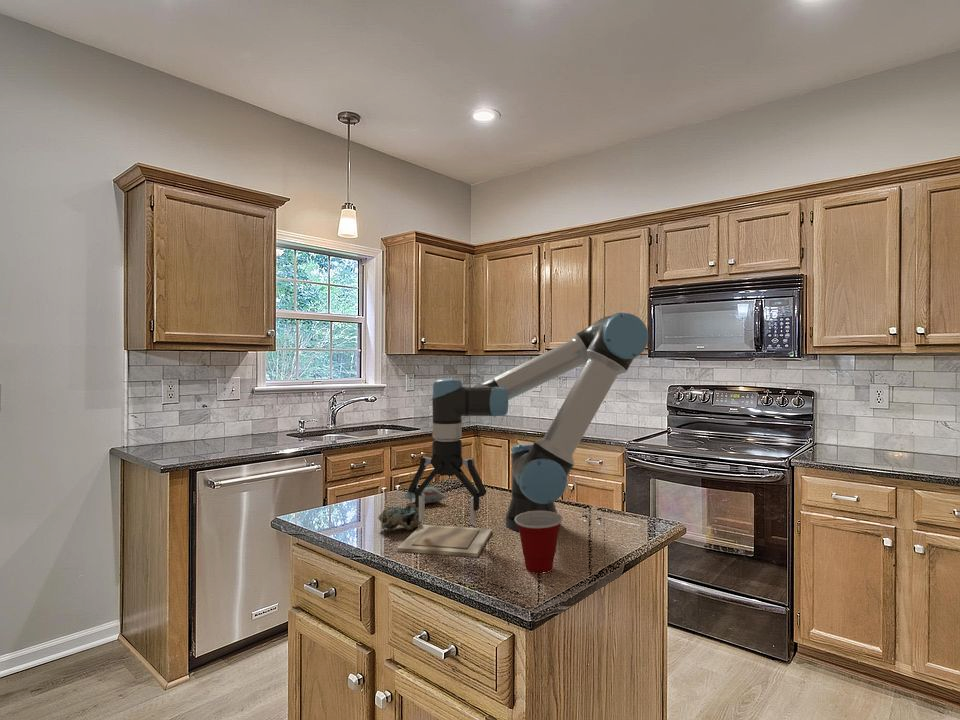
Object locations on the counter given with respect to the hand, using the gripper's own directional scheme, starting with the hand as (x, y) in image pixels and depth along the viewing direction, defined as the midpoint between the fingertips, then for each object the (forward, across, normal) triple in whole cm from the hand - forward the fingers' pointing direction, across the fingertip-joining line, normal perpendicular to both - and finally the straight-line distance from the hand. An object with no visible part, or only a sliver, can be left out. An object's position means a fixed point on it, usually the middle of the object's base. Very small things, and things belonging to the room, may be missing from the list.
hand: (447, 521), depth 149 cm
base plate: (+5, 0, 0) cm, 5 cm away
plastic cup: (+5, -25, +15) cm, 30 cm away
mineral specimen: (+6, +16, -7) cm, 19 cm away
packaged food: (+7, +18, -32) cm, 38 cm away
